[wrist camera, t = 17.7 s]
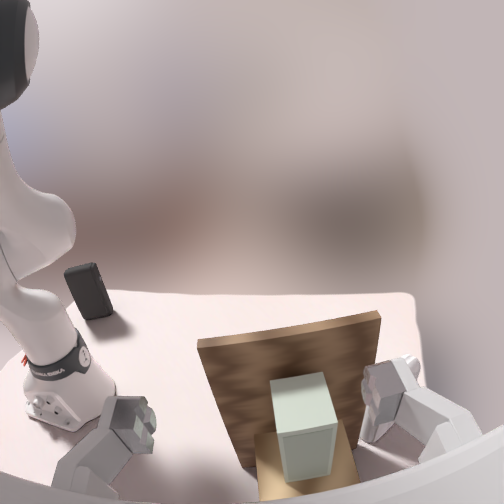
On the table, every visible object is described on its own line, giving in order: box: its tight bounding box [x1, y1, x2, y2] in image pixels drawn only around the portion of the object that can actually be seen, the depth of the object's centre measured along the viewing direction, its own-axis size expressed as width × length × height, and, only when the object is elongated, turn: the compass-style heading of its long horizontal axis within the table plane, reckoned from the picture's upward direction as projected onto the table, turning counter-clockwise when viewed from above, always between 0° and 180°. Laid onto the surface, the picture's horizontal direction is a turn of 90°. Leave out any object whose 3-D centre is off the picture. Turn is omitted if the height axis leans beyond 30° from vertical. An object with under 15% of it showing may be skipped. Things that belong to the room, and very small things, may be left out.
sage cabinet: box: [270, 372, 338, 483], centre depth 28 cm, size 5×6×12 cm
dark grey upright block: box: [64, 263, 113, 320], centre depth 77 cm, size 9×4×15 cm, turn 103°
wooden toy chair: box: [197, 310, 381, 501], centre depth 30 cm, size 17×11×26 cm, turn 94°
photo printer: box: [359, 354, 420, 442], centre depth 40 cm, size 10×4×12 cm, turn 126°
